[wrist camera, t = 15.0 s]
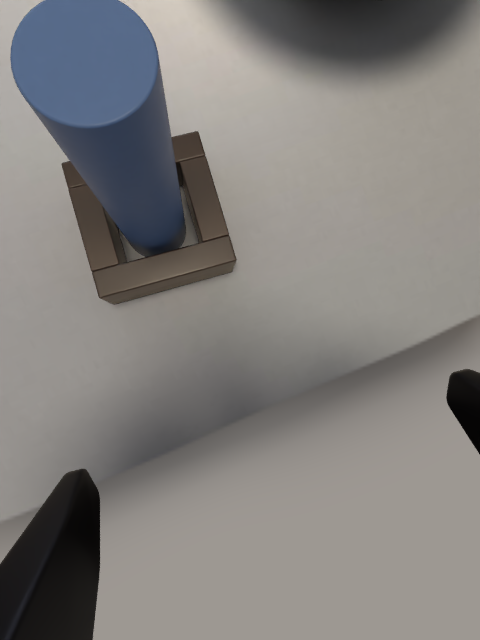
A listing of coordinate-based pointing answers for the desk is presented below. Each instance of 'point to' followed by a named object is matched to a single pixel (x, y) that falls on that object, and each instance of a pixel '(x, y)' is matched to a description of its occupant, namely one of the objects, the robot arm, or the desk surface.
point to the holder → (165, 268)
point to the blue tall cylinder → (105, 111)
